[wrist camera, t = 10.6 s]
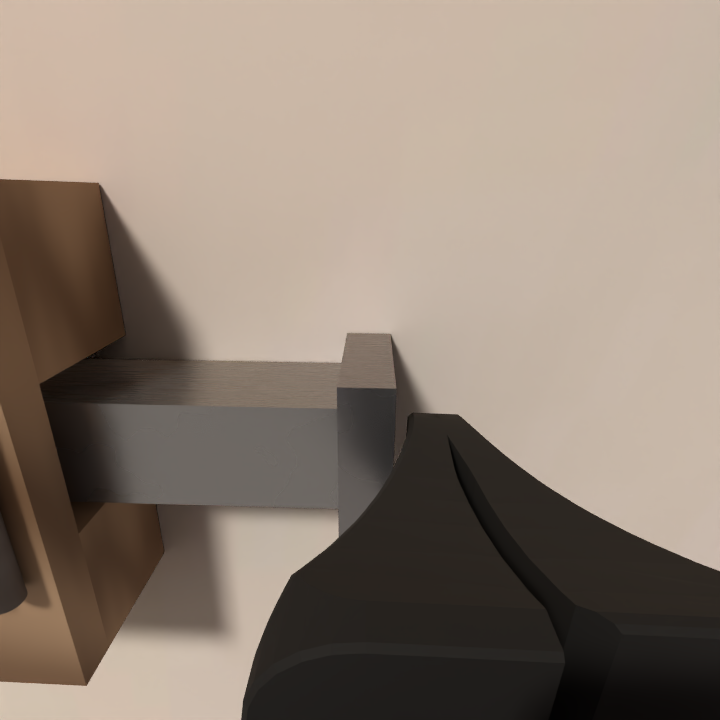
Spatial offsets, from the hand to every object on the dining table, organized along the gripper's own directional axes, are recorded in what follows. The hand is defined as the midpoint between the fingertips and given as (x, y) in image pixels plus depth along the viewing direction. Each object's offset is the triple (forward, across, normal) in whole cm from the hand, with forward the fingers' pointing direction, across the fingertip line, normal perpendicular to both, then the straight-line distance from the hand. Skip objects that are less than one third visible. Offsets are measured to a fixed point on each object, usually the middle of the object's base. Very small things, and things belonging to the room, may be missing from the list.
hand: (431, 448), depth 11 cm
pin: (+2, +6, 0) cm, 7 cm away
